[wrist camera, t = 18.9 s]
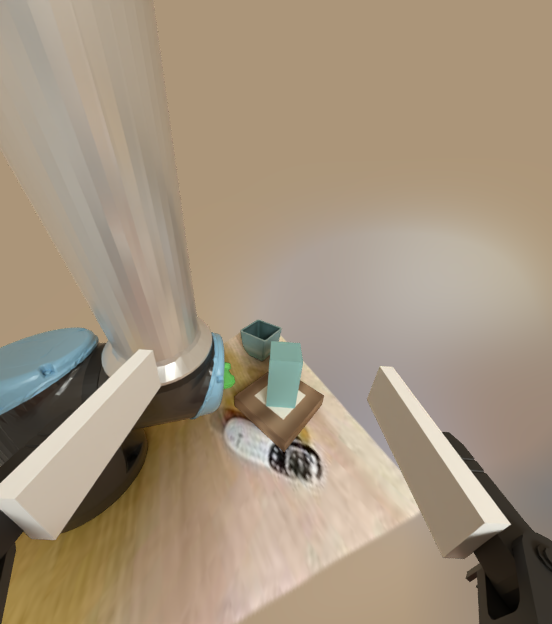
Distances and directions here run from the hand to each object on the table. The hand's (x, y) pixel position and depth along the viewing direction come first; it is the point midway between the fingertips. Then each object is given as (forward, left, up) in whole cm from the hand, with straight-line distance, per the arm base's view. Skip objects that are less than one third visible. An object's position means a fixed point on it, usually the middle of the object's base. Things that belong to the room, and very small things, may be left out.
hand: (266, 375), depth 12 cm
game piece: (-26, +15, -30) cm, 43 cm away
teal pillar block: (-12, +19, -27) cm, 35 cm away
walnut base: (-12, +19, -30) cm, 38 cm away
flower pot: (-28, +29, -30) cm, 51 cm away
